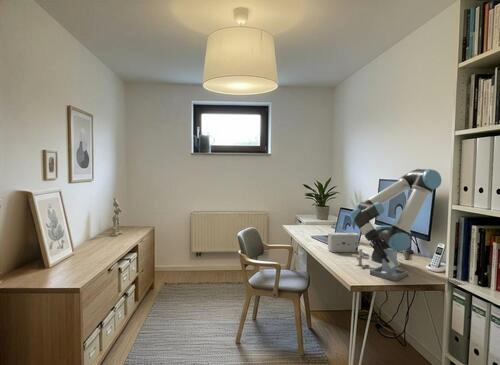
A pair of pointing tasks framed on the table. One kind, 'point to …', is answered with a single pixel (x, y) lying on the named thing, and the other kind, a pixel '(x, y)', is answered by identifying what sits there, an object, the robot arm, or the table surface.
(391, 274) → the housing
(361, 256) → the pipe connector
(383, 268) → the block
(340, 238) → the stereo radio cassette player
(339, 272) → the table surface
